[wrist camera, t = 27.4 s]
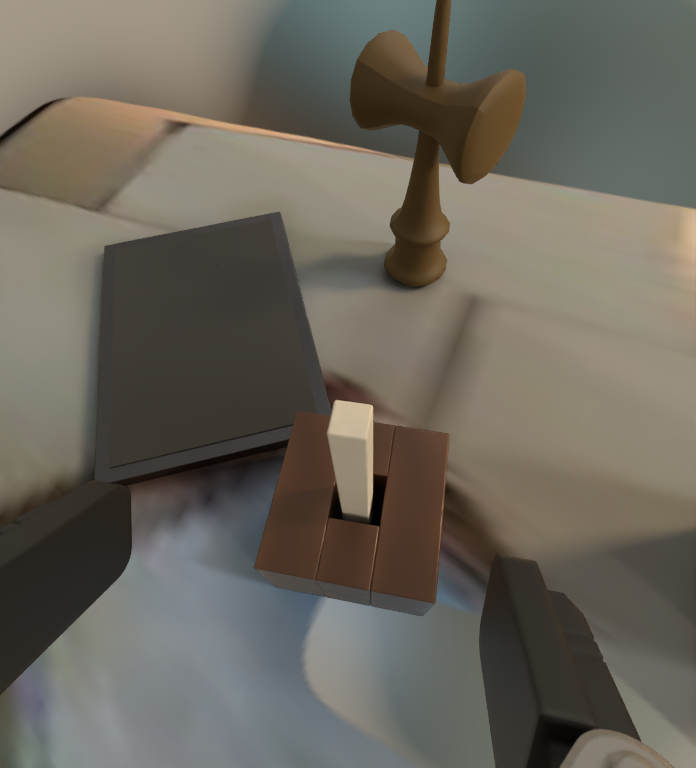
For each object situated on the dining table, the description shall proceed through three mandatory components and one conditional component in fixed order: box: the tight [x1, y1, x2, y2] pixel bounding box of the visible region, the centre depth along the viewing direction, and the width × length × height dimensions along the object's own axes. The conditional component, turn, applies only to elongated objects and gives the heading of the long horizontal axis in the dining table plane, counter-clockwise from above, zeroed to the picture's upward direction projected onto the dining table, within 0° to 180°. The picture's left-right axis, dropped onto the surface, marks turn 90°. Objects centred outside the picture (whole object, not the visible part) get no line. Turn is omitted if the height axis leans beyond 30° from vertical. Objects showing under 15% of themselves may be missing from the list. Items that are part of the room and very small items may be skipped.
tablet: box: [94, 212, 332, 485], centre depth 37 cm, size 16×23×1 cm
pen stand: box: [254, 411, 449, 616], centre depth 26 cm, size 9×9×6 cm
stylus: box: [327, 400, 373, 525], centre depth 22 cm, size 1×1×15 cm
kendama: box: [350, 0, 526, 286], centre depth 32 cm, size 6×10×20 cm, turn 47°
